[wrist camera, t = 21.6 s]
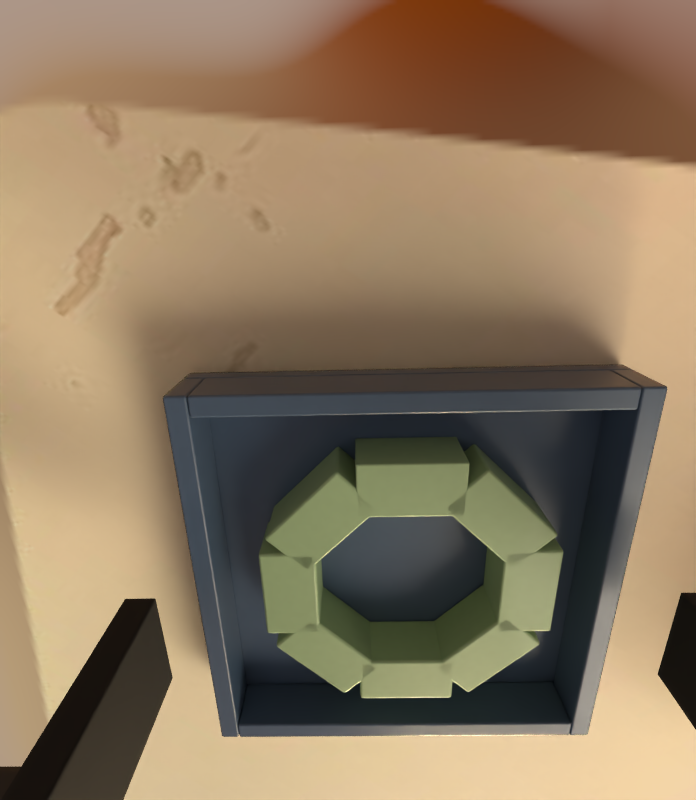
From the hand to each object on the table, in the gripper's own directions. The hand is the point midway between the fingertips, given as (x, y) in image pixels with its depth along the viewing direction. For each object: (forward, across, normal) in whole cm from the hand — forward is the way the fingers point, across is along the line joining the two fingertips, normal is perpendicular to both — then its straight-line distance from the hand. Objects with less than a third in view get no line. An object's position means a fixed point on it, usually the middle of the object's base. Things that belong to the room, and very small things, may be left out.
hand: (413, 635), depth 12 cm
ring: (+3, 0, 0) cm, 3 cm away
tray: (+3, 0, 0) cm, 3 cm away
